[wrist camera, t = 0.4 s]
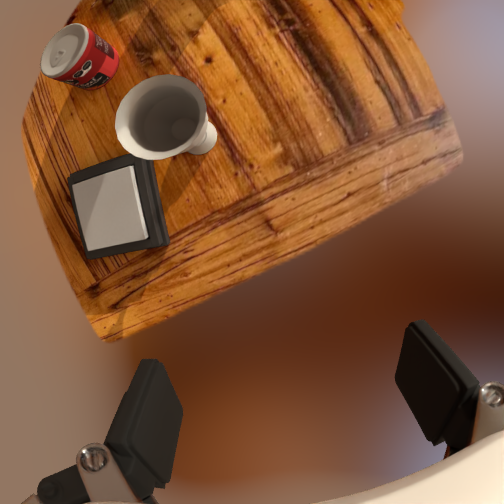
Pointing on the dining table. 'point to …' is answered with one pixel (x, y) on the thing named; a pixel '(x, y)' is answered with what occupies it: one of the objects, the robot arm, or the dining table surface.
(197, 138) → the chalice
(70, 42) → the canned food
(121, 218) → the pan
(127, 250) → the scale
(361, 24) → the dining table surface
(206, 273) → the dining table surface
